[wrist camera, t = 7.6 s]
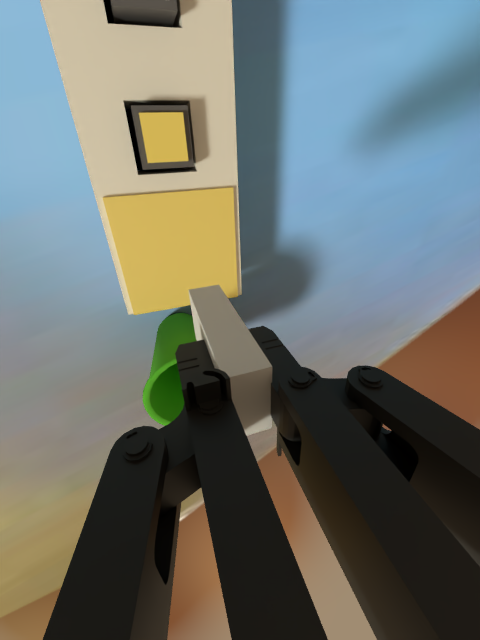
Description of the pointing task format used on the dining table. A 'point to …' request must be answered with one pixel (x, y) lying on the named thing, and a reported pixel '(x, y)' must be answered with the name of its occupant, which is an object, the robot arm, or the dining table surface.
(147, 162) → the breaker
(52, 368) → the dining table surface
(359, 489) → the robot arm
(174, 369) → the cup
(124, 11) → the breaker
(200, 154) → the box
